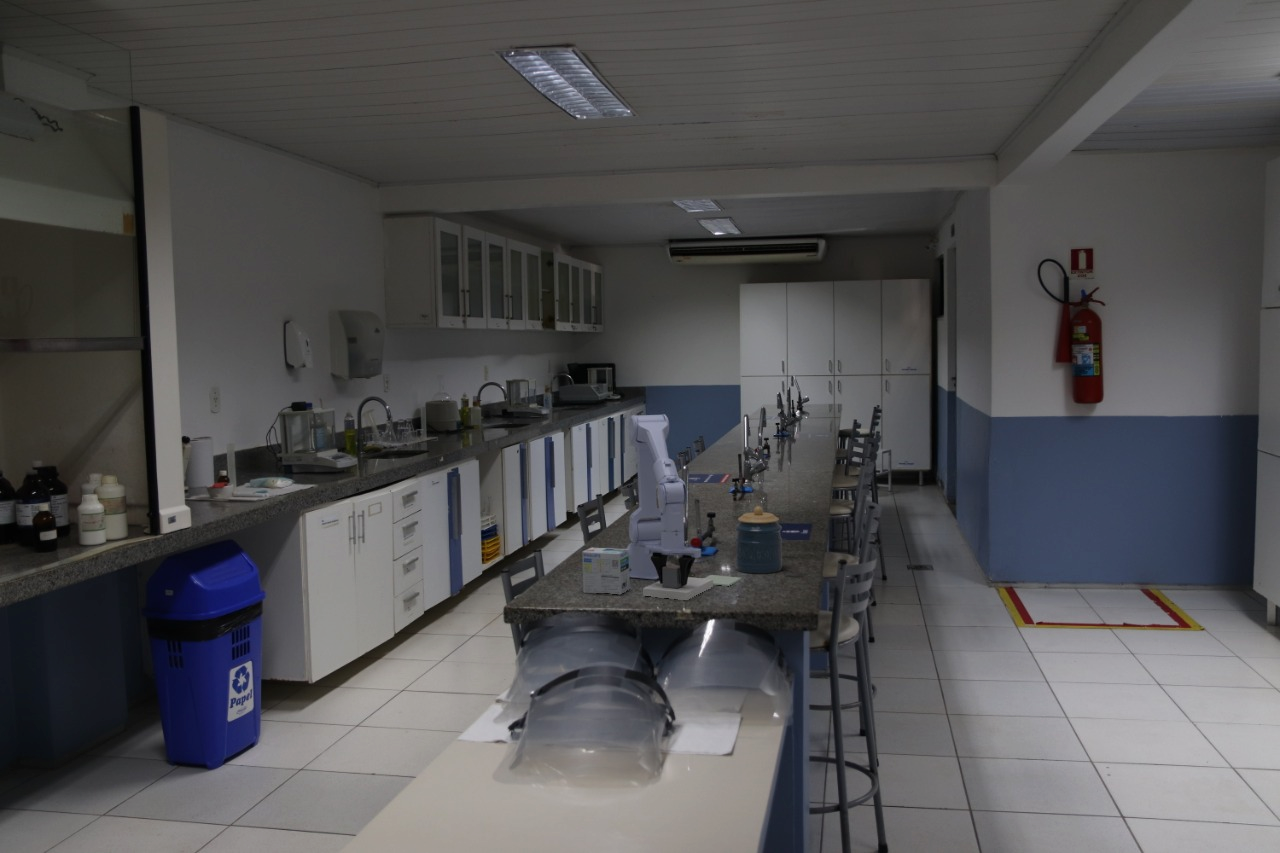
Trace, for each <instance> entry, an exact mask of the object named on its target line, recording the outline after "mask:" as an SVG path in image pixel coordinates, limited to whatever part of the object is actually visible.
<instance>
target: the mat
mask: <svg viewBox="0 0 1280 853" xmlns="http://www.w3.org/2000/svg"><path fill="white" fill-rule="evenodd" d="M703 579H713V586H716V585H722V586H721V587H727V586H729V587H731V586H733V585H734V583H735V584H736V583H738V582H740V581H742V579H743V578H742V577H740V576H739V577H738V576H727V575H726V576H725V575H718V574H717V575H716V574H715V575H714V574H709V575H707V576H706V577H703ZM732 584H733V585H732ZM730 585H731V586H730Z"/></svg>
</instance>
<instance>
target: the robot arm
mask: <svg viewBox="0 0 1280 853" xmlns="http://www.w3.org/2000/svg"><path fill="white" fill-rule="evenodd" d="M669 433H670V421H669V418H668V416H667V415H666V414H664V413H662V414H649V415H648V414H645V415H644V414H643V415H642V414H641V415H640V414H639V415H635V414H632V415H631V416H630V418H629V422H628V438H629V439H628V440H629V445H630V446H631V447H632V446H633V447H635V452H636V464H637V465H636V466H637V486H638V488H637V489H638V505H639V506H638V508H637V509H635V510H634V511H633V512H632V513H631V514H630V516H629V525H628V536H629V540H630V541H631V543H629V544H628V545H627V547H626V549H629V571H630V578H635V579H642V580H643V579H644V580H645V579H646V580H656V581H657V580H658V581H660V584H663V573H662V568H663V567H665V566H667V561H668V556H678V557H679V558H678V565H680V572H681V586H684V585H686V584H687V580H688V577H689V576H690V572H691V569H692V567H693V565H694V563H695V561H696V559H699V558H701V557H702V549H701V548H695V547H688V546H685V519H684V518H685V516H684V515H685V512H684V507H685V506H684V505H686V503H687V499H688V490H687V485H686V483H685V481H683V479H682V478H680V477H679V474H678V471H677V470H678V469H677V466H676V464H675V461H674V460H673V459H671V458H670V457H669V452H668V446H667V441H666V440H667V438H668V436H669ZM657 501H658V507H657Z"/></svg>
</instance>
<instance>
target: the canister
mask: <svg viewBox="0 0 1280 853" xmlns="http://www.w3.org/2000/svg"><path fill="white" fill-rule="evenodd" d="M737 520H738V521H739V522H738V524H736V525H735V527H734V528H735V530H736V537H735V539H734V541H735V567H736V570H737V571H739V572H742V573H746V574H747V573H748V574H771V573H776V572H780V571H781V570H782V567H783V559H782V557H783V556H782V552H783V551H782V550H783V549H782V546H783V545H782V542H783V538H782V536H781V530H782V529H783V527H782V525H781V524H779V523H778V521H780V518H779V517H777V516H776V515H775V514H774V513H771V512H764V509H763V507H762V506H760V505H758V506H757V505H756V506H755V507H754V508H753V512H746V513H743V514H742V515H741V516H740V517H738V518H737Z"/></svg>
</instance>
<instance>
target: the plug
mask: <svg viewBox="0 0 1280 853" xmlns="http://www.w3.org/2000/svg"><path fill="white" fill-rule="evenodd" d="M662 573H663V588H672V589H679V588H681V587H683V586H681V572H680V565H679V564H668V565H667V564H666V566H665V567H663V568H662Z"/></svg>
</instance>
